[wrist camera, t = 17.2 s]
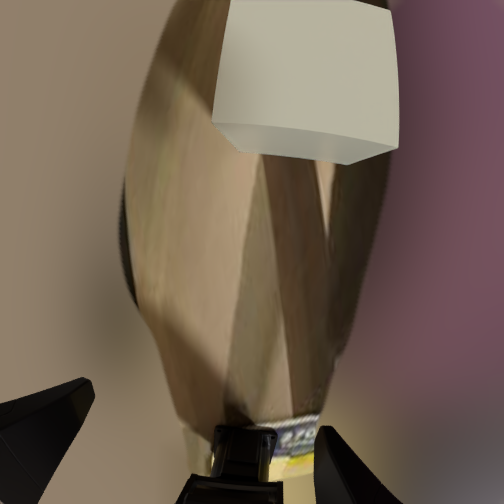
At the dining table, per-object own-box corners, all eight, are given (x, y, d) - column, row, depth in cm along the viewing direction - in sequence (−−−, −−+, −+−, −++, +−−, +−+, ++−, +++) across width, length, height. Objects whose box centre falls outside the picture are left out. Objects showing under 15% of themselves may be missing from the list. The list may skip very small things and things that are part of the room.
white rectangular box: (347, 165, 18) (398, 147, 10) (239, 152, 19) (211, 122, 10) (351, 71, 16) (390, 10, 8) (250, 58, 17) (233, -12, 8)
